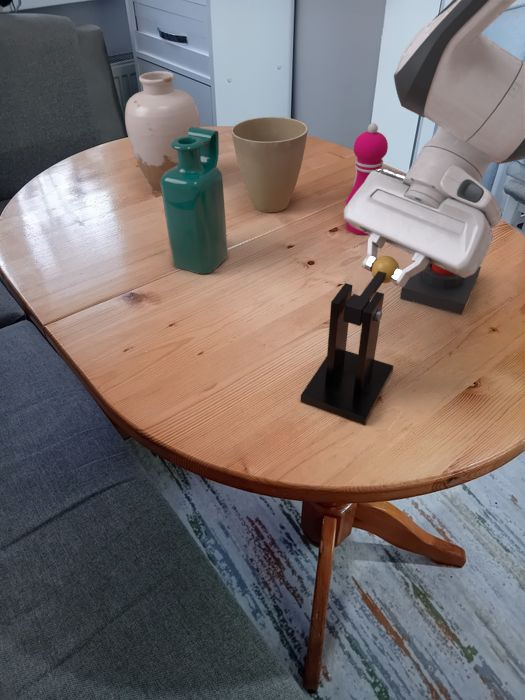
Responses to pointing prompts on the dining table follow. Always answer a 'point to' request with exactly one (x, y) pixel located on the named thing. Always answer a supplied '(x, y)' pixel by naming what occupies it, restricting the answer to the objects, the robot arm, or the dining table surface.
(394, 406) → the dining table surface
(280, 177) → the plant pot
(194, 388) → the dining table surface
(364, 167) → the pepper mill
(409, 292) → the block
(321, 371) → the stand
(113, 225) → the dining table surface
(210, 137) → the pitcher
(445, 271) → the bell button
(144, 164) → the vase
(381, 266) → the lever
